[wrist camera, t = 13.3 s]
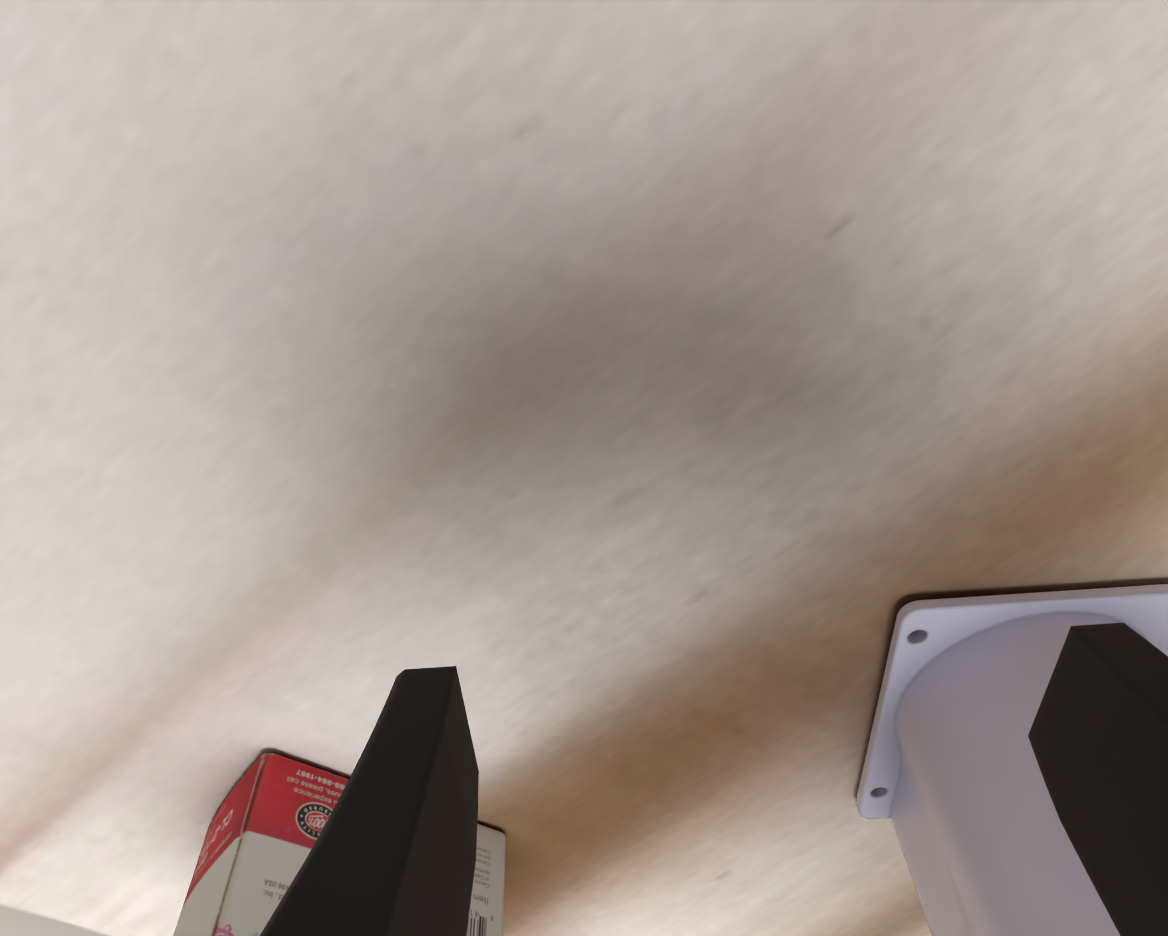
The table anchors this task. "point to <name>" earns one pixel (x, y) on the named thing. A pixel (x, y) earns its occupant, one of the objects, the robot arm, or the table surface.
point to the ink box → (294, 852)
